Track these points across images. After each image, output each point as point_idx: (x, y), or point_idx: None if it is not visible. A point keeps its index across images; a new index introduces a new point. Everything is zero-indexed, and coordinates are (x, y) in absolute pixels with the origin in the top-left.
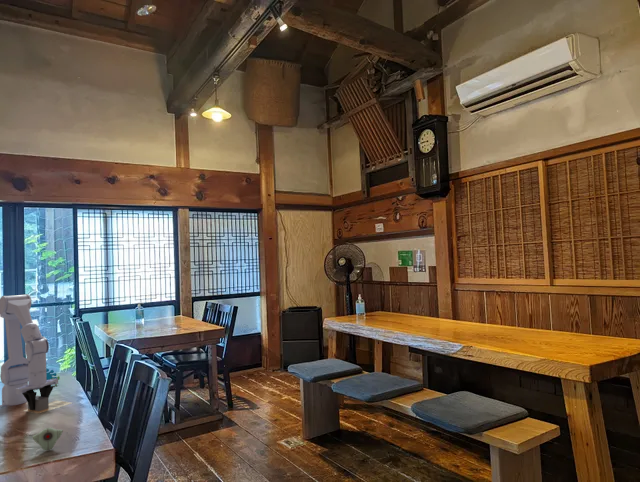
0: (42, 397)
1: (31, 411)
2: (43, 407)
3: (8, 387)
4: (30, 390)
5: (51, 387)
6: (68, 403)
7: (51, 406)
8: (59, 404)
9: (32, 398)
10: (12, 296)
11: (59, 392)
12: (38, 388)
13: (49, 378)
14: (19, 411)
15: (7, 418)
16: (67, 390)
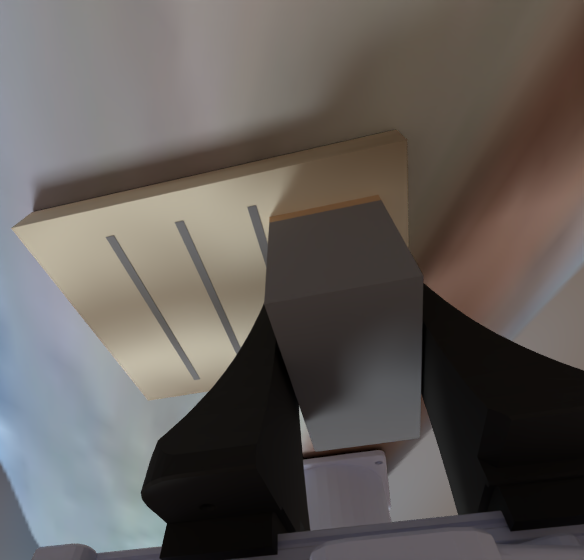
0: (314, 365)
1: None
2: (330, 222)
3: None
4: (568, 507)
5: (173, 472)
6: (58, 248)
7: (220, 288)
8: (146, 288)
9: (494, 344)
10: None
11: (118, 512)
12: (384, 524)
13: None
14: None
15: (510, 329)
16: (78, 514)
